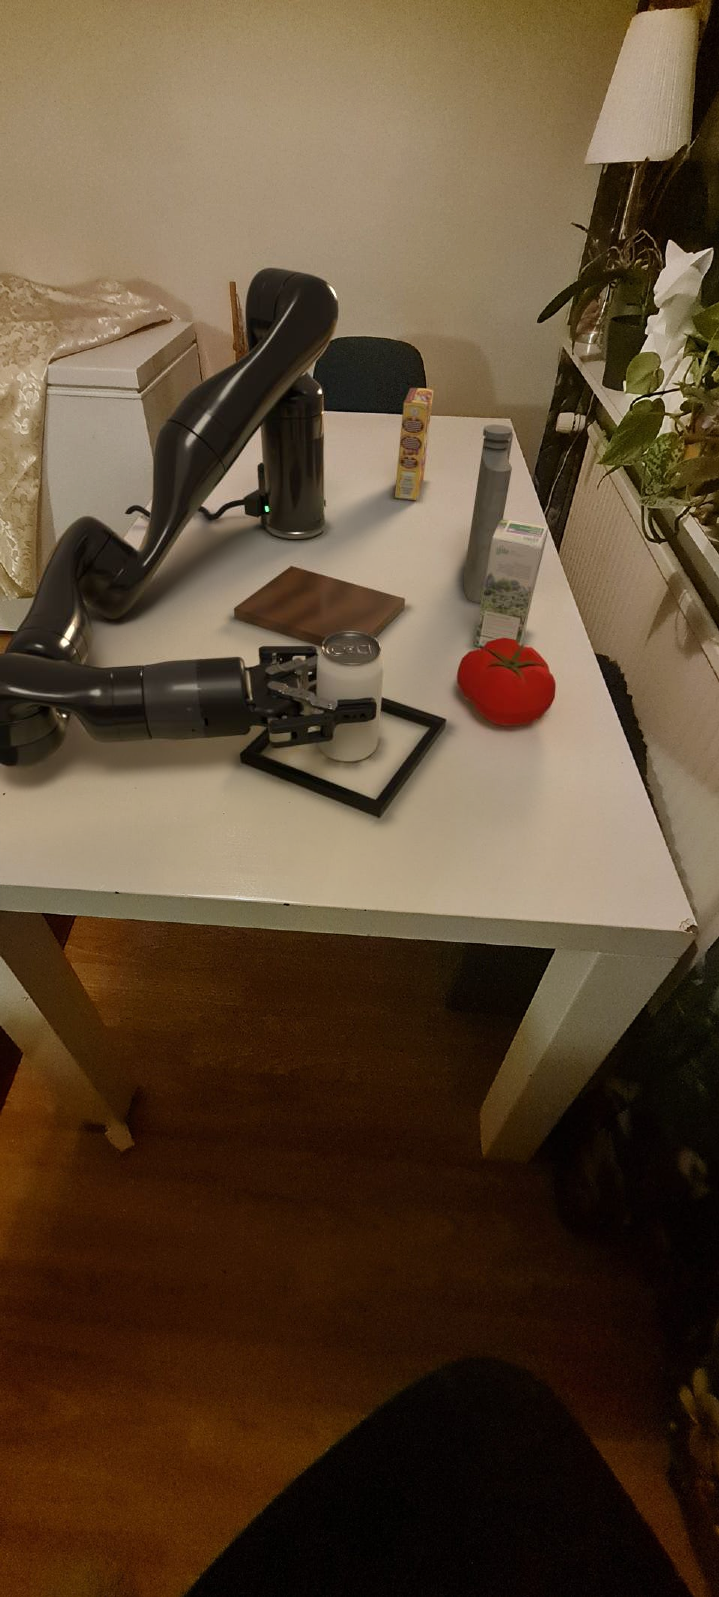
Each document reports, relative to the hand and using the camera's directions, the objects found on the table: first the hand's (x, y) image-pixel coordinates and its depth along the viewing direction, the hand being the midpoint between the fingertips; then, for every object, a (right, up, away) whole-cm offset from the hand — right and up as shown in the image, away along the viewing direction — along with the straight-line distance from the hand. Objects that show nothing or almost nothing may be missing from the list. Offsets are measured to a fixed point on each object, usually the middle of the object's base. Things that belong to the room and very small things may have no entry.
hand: (368, 687), depth 70 cm
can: (-2, -5, +5) cm, 8 cm away
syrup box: (+17, +9, +21) cm, 28 cm away
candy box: (+8, +44, +56) cm, 71 cm away
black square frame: (-2, -5, +5) cm, 7 cm away
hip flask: (+16, +21, +33) cm, 43 cm away
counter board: (-6, +14, +24) cm, 28 cm away
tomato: (+15, -1, +11) cm, 19 cm away
